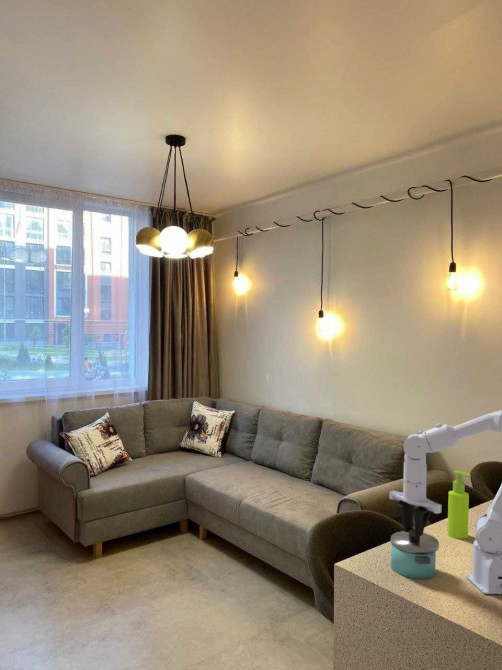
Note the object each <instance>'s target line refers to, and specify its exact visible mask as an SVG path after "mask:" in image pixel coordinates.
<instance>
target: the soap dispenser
mask: <svg viewBox="0 0 502 670" xmlns="http://www.w3.org/2000/svg"><path fill="white" fill-rule="evenodd" d="M453 473H454V474H455V479H454V480H453V481H452V490H449V491H448V499H447V501H448V504H447V510H448V511H447V535H448V536H449V537H451V538H454V539H460V540H461V539H462V540H464V539H466V540H467V538H469V509H470V507H469V506H470V505H469V503H470V501H469V500H470V499H469V498H470V495H469V493H468V492H466V491H465V490H466V489H465V488H466V487H465V486H466V484H465V483H466V482H464V481H463V476H464V477H465V478H467V477H472V475H471V474H470V473H468V472H466V471H463V470H458V469H457V470H453Z"/></svg>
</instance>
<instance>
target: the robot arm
mask: <svg viewBox="0 0 502 670" xmlns="http://www.w3.org/2000/svg"><path fill="white" fill-rule="evenodd" d="M486 431H496V432H500V433H502V409H501V410H500V409H499V410H497V411H494V412H493V411H492V412H490V413H487V414H484V415H481V416H479V417H476V418H473V419H471V420H468V421H466V422H465V421H464V422H463V423H459V424H457V425H455V426H453V425H449V424H447V423H444V424H442V423H441V422H439V423H437V424H436V425H435V427H433V428H430V429H426V430H422V429H421V430H419V431H418V434H417V433H413V434H409V436H408V437H407V438H406V439H405V441H404V443H403V452H404V461H403V484H402V487H403V488H402V492H401V491H396V490H391V491H389V492H388V493H389V494H388V495H389V498H388V499H390V500H395V501H398V503H397V504H396V506H395V507H396V510H397V511H398V513H399V515H400V517H401V521H402V525H403V529H404V530H403V531H405V532H409V527H413V517H414V524H415V525H414V527H415V534H416V536H418V537H419V536H422V535H423V533H424V532H425V531H424V530H425V529H426V525H427V522H428V520H429V518H430V517H431V515H432V513H434V514H441V513H442V504H440V503H437V502H435V501H433V500H431V499H429V498H427V471H428V465H427V453H431V454H432V453H436V452H439V451H442V450H445V449H449V448H451V447H454V446H456V445H457V442H458V440H459V439H462V438H465V437H469V436H473V435H476V434H480V433H483V432H486ZM415 507H417V508H415ZM474 526H475V527H474V528H475V531H476V532H475V540H474V541H473V543H472V544H473V545H472V547H473V550H472V573H470V574H467V573H466V574H465V577H466V578H467V579H468V580H469V581H470V582H471V583H472V584H473V585H474V586H475V587H477V588H478V589H479V590H480V591H481V592H482V593H483V594H484V595H502V483H501V484H500V487H499V489H498V491H497V493H496V494H495V497H494V498H493V501H492V502H491V504H490V505H489V506H488V508H487V509H486V511H485V513H484V514H482V515H481V516H479V517H478V518H477V519H476V520H475V525H474Z"/></svg>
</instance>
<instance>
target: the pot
mask: <svg viewBox="0 0 502 670" xmlns="http://www.w3.org/2000/svg"><path fill="white" fill-rule="evenodd" d="M390 545H391V546H390V548H391V550H390V551H391V552H390V554H391V555H390V568H391V569H392V571H393V572H395V573H397V574H398V575H400V576H403V577H406V578H410V579H417V580H418V579H419V580H425V579H426V580H427V579H430V578H433V577H434V576H435V575H436V556H437V555H436V553H437V551H435V552H433V553H430V554H412V553H407V552H403V551H401V550H398V549H396V548H395V547H393V546H392V544H391V543H390Z"/></svg>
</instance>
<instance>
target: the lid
mask: <svg viewBox="0 0 502 670" xmlns="http://www.w3.org/2000/svg"><path fill="white" fill-rule="evenodd" d="M391 544H392V546H393V547H395V548H396V549H398V550H401V551H403V552H407V553H412V554H430V553H433V552H435V551H436V552H437V551H439V548H440V542H439V540H438V539H437V538H436V537H435V536H433V535H431V534H429V533H426V532H423V535H422V536H419V537H418V536H416V534H415V526H412V527H409V532H405V530H401V531H396V532H395V533H393V534H391V536H390V545H391Z"/></svg>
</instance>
